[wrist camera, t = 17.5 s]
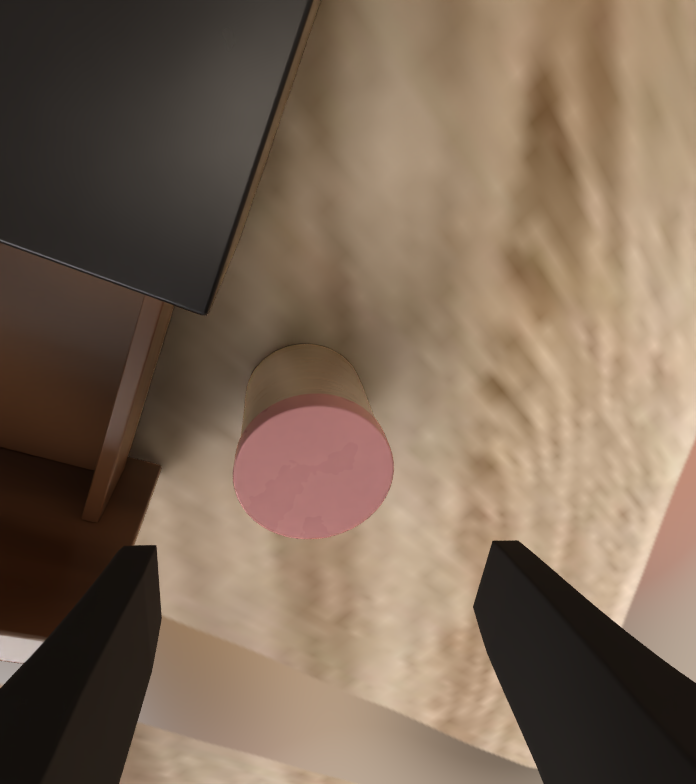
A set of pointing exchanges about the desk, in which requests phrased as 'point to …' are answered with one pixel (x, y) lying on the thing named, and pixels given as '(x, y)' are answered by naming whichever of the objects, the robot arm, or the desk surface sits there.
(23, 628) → the drawer
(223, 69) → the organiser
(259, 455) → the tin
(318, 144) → the desk surface
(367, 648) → the desk surface
